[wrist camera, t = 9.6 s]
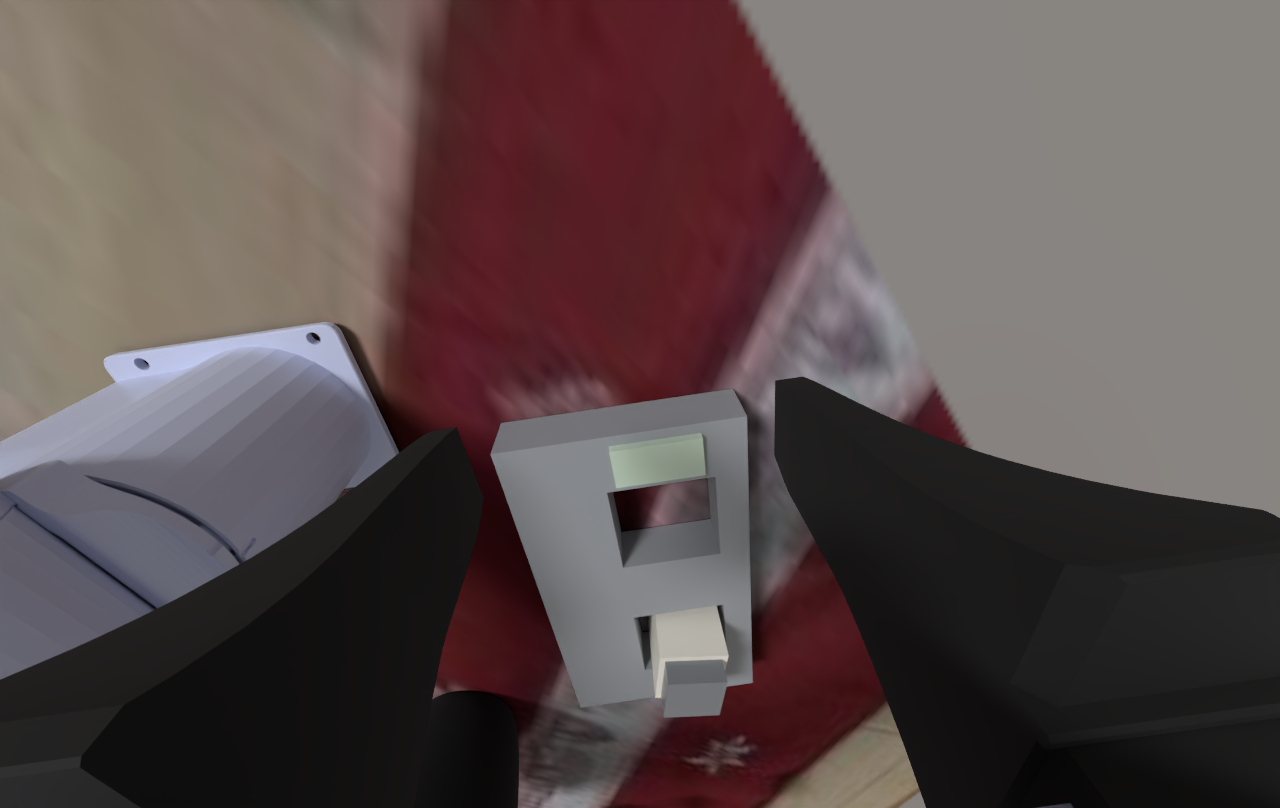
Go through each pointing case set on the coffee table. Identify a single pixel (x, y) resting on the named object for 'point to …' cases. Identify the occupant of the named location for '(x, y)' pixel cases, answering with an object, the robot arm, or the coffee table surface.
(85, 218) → the coffee table surface
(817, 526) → the robot arm
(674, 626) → the plug
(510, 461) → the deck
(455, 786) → the mug
